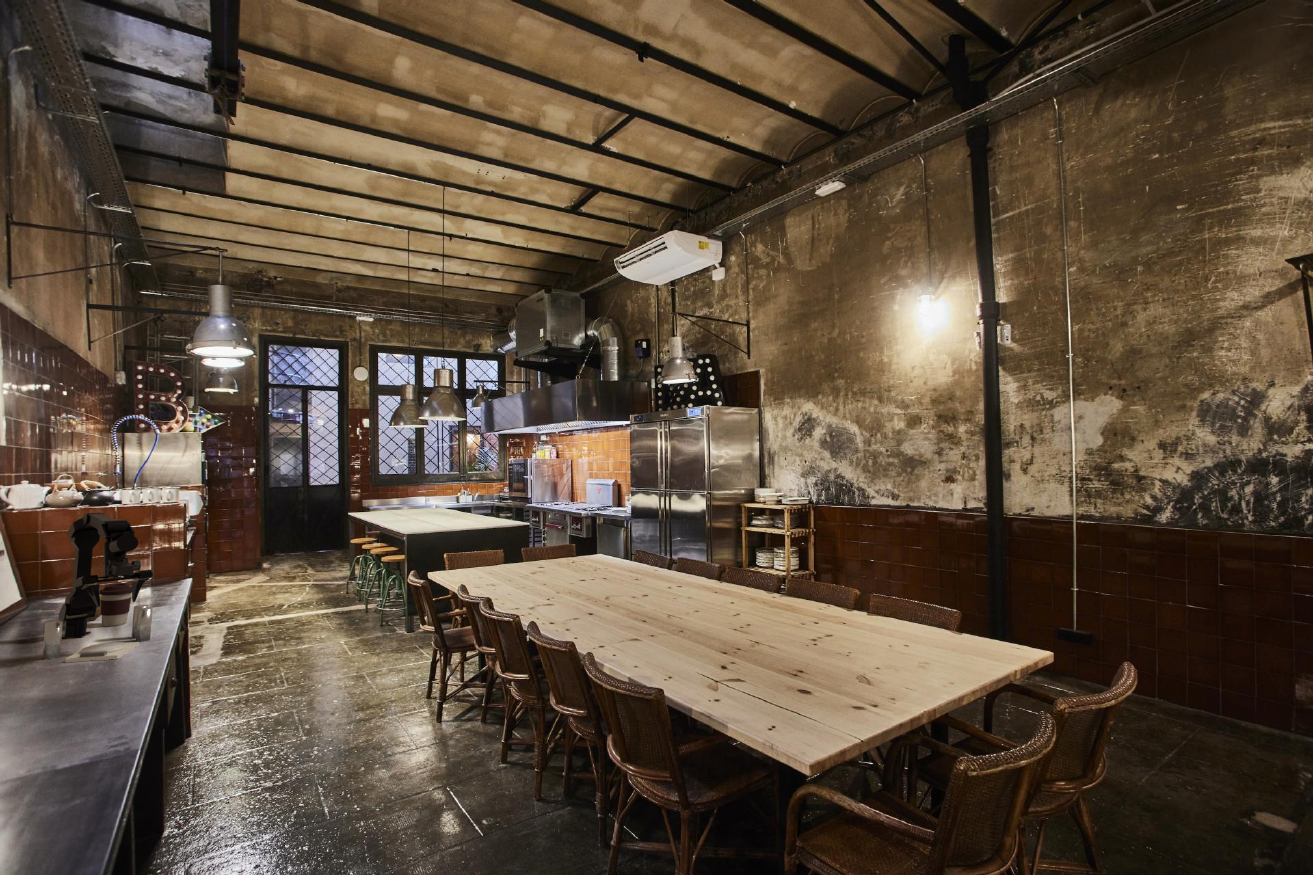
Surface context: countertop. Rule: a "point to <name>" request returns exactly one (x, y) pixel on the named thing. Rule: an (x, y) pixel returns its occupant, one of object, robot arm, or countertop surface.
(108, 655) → the scale
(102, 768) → the countertop surface
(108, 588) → the coffee cup
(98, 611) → the natural sponge
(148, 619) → the spacer
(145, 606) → the spacer
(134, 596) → the robot arm
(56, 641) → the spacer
